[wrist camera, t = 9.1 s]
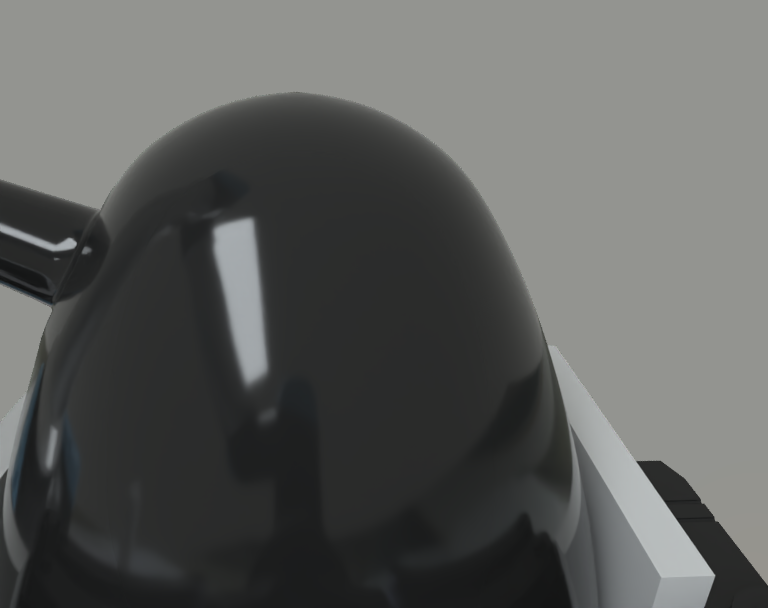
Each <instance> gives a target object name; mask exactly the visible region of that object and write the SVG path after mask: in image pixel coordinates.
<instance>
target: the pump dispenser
mask: <svg viewBox="0 0 768 608" xmlns="http://www.w3.org/2000/svg"><path fill="white" fill-rule="evenodd" d="M0 284H1V285H3V286H5V287H7V288H10V289H12V290H14V291H17V292H19V293H21V294H24V295H26V296H28V297H30V298H33V299H35V300H37V301H39V302H41V303H43V304H45V305H47V306H49V307H51V308H52V313H51V315H50V317H49V320H48V322H47V324H46V327H45V329H44V332H43V335H42V338H41V341H40V345H39V349H38V353H37V357H36V361H35V365H34V368H33V372H32V376H31V379H30V383H29V387H28V390H27V394H26V397H25V401H24V404H23V408H22V412H21V415H20V419H19V423H18V427H17V431H16V435H15V440H14V444H13V449H12V453H11V458H10V463H9V468H8V473H7V478H6V483H5V489H4V494H3V500H2V506H1V513H0V608H599V600H598V587H597V577H596V566H595V557H594V549H593V541H592V534H591V527H590V521H589V515H588V509H587V503H586V497H585V491H584V486H583V481H582V476H581V471H580V466H579V462H578V457H577V453H576V448H575V444H574V440H573V436H572V431H571V427H570V423H569V419H568V415H567V411H566V407H565V404H564V400H563V396H562V392H561V389H560V385H559V382H558V378H557V375H556V372H555V368H554V365H553V362H552V358H551V355H550V352H549V349H548V345H547V343H546V339H545V336H544V333H543V330H542V327H541V324H540V321H539V318H538V315H537V313H536V310H535V307H534V304H533V302H532V299H531V296H530V294H529V291H528V289H527V286H526V284H525V281H524V279H523V277H522V274H521V272H520V270H519V267H518V265H517V263H516V261H515V259H514V256H513V254H512V252H511V250H510V248H509V246H508V244H507V242H506V240H505V238H504V236H503V234H502V232H501V230H500V228H499V226H498V224H497V222H496V220H495V219H494V217H493V215H492V213H491V211H490V209H489V208H488V206H487V204H486V203H485V201H484V199H483V198H482V196H481V195H480V193H479V192H478V190H477V189H476V187H475V186H474V184H473V183H472V182H471V180H470V179H469V178H468V176H467V175H466V174H465V173H464V171H463V170H462V169H461V168H460V167H459V166H458V165H457V164H456V162H455V161H454V160H453V159H452V158H451V157H450V156H449V155H447V154H446V153H445V152H444V151H443V150H442V149H440V148H439V147H438V146H437V145H436V144H435V143H433V142H432V141H430V140H429V139H428V138H426V137H425V136H424V135H422V134H420V133H419V132H418V131H416V130H414V129H413V128H411V127H409V126H408V125H407V124H405V123H403V122H401V121H399V120H397V119H395V118H393V117H392V116H390V115H387V114H385V113H383V112H381V111H378V110H376V109H374V108H371V107H368V106H365V105H362V104H359V103H356V102H353V101H349V100H345V99H340V98H336V97H331V96H325V95H319V94H310V93H300V92H290V93H277V94H269V95H262V96H255V97H251V98H247V99H242V100H237V101H234V102H231V103H228V104H225V105H221V106H218V107H216V108H214V109H211V110H209V111H206V112H204V113H201V114H199V115H197V116H195V117H194V118H192V119H190V120H188V121H186V122H184V123H182V124H181V125H179V126H177V127H176V128H174V129H172V130H171V131H169V132H168V133H166V134H165V135H163V136H162V137H161V138H159V139H158V140H157V141H155V142H154V143H153V144H151V145H150V146H149V147H148V148H147V149H146V150H145V151H144V152H142V154H140V155H139V157H138V158H137V159H136V160H135V161H134V162H133V163H132V164H131V165H130V167H129V168H128V169H127V171H126V172H125V173H124V174H123V176H122V177H121V178H120V180H119V181H118V182H117V184H116V185H115V186H114V188H113V189H112V191H111V192H110V194H109V195H108V197H107V199H106V201H105V202H104V204H103V206H102V208H101V210H99V209H96V208H92V207H88V206H85V205H82V204H78V203H75V202H72V201H69V200H65V199H62V198H58V197H56V196H52V195H49V194H45V193H42V192H39V191H36V190H32V189H30V188H26V187H23V186H20V185H16V184H13V183H10V182H7V181H4V180H0Z"/></svg>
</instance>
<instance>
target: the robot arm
mask: <svg viewBox="0 0 768 608" xmlns="http://www.w3.org/2000/svg"><path fill="white" fill-rule="evenodd" d="M548 349H549V352H550V355H551V358H552V362H553V365H554V368H555V372H556V375H557V378H558V382H559V385H560V389H561V392H562V396H563V400H564V404H565V407H566V411H567V415H568V419H569V423H570V427H571V431H572V436H573V440H574V444H575V448H576V453H577V457H578V462H579V466H580V471H581V476H582V481H583V486H584V491H585V497H586V503H587V509H588V515H589V521H590V527H591V534H592V541H593V549H594V557H595V566H596V577H597V587H598V600H599V608H768V585H767V584H766V583H765V582H764V580H763V579H762V578H761V577H760V575H759V574H758V573H757V571H756V570H755V569H754V567H753V566H752V565H751V563H750V562H749V561H748V560H747V558H746V557H745V556H744V555H743V553H742V552H741V551H740V549H739V548H738V547H737V546H736V544H735V543H734V542H733V540H732V539H731V538H730V536H729V535H728V534H727V533H726V531H725V530H724V529H723V527H722V526H721V525H720V524H719V522H715V519H714V516H713V514H712V513H711V512H710V511H709V509H708V508H707V507H706V505H705V504H702V503H701V499H700V498H699V496H698V495H697V494H696V493H695V491H694V490H693V489H692V487H691V486H690V485H689V484H688V482H687V481H686V480H685V479H684V478H683V477H682V476H680V475H679V474H678V473H676V472H675V471H674V470H672V469H671V468H669V467H668V466H667V465H665V464H664V463H663V462H661V461H635V459H634V458H633V457H632V455H631V453H630V452H629V451H628V449H627V448H626V446H625V445H624V443H623V442H622V440H621V439H620V438H619V436H618V435H617V433H616V432H615V430H614V429H613V428H612V426H611V425H610V423H609V422H608V420H607V419H606V417H605V416H604V415H603V413H602V412H601V411H600V409H599V407H598V406H597V405H596V403H595V402H594V400H593V399H592V397H591V396H590V394H589V393H588V392H587V390H586V389H585V387H584V386H583V384H582V383H581V381H580V380H579V379H578V377H577V376H576V374H575V373H574V371H573V370H572V368H571V367H570V365H569V364H568V363H567V361H566V360H565V358H564V357H563V355H562V354H561V353H560V351H559V350H558V348H557V347H556V346H548ZM26 394H27V391H26V393H25V394H24V395H23V396H22V398H20V400H19V401H18V402H17V403H16V404H15V405H14V406H13V408H12V409H11V410H10V411H9V412H8V413H7V414H6V416H5V417H4V418H3V419H2V420H1V421H0V513H1V506H2V500H3V494H4V489H5V483H6V478H7V473H8V468H9V463H10V458H11V453H12V449H13V444H14V440H15V435H16V431H17V427H18V423H19V419H20V415H21V412H22V408H23V404H24V401H25V397H26Z"/></svg>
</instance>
